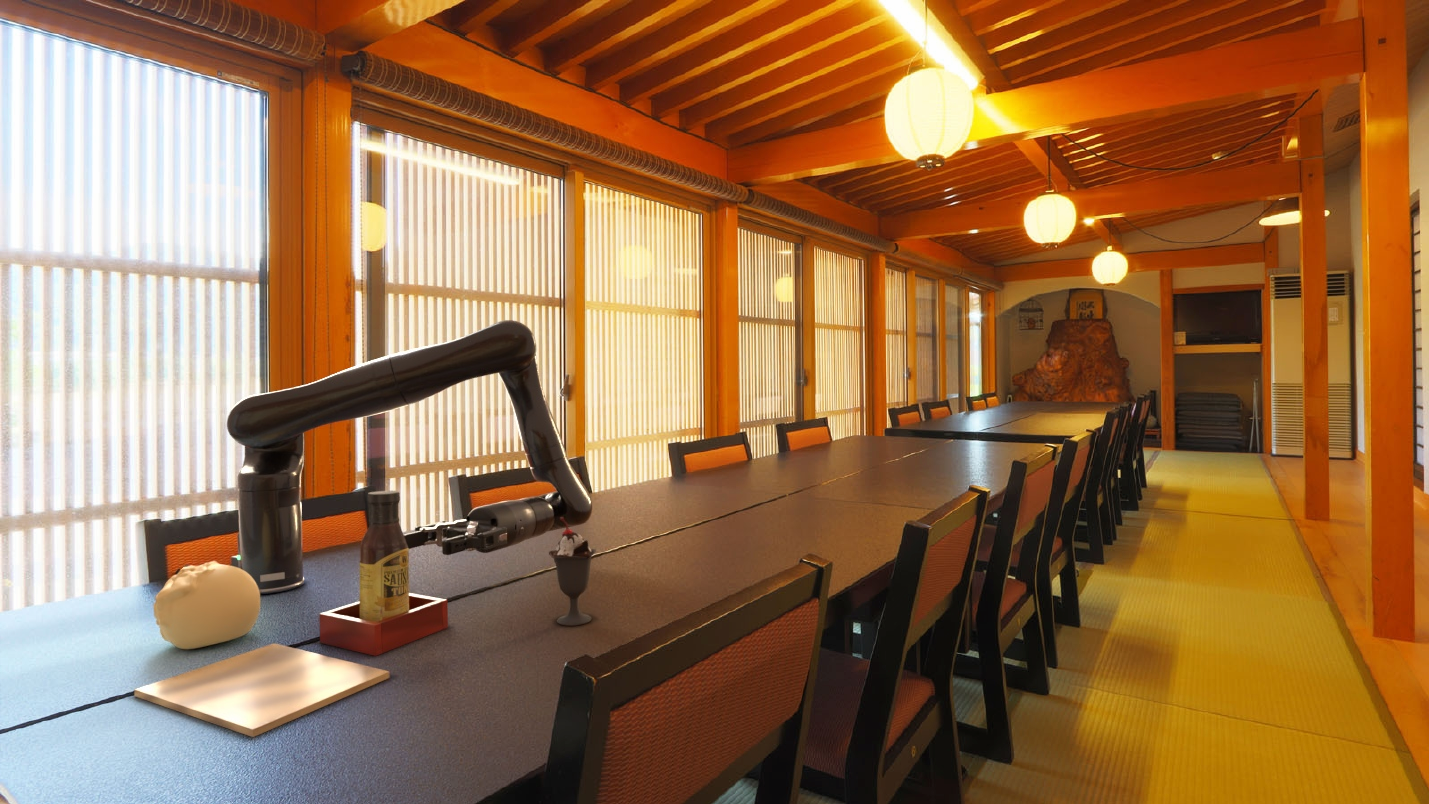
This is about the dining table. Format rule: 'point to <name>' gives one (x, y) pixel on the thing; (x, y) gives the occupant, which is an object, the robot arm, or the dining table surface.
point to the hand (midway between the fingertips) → (423, 545)
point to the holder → (383, 626)
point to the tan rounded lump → (207, 605)
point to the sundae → (572, 573)
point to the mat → (261, 688)
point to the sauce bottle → (383, 560)
